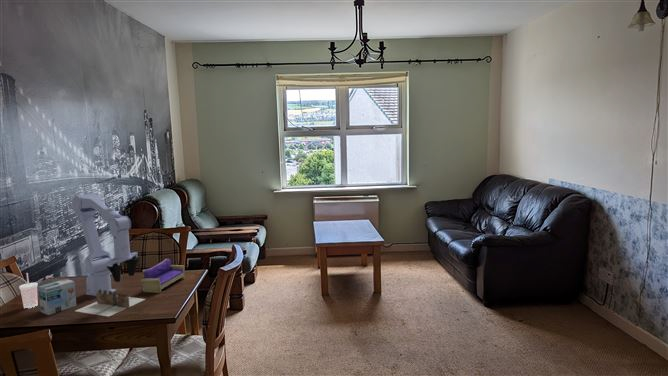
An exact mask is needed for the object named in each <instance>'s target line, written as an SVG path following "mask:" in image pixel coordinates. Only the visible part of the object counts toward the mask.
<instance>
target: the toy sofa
mask: <svg viewBox="0 0 668 376" xmlns="http://www.w3.org/2000/svg"><path fill="white" fill-rule="evenodd" d="M185 267H186V266H185V265H181V264H180V265H179V264H177V265H176V264H172V260H171V259H170V258H165V259H163V261H161V262H159V263H158V264H155V265H154V266H152V267H150V268H148V269H142V272H141V273H142V276H143V278H141V279H140V282H141V284H142V289H143V290H142V291H143V293H156V294H157V293H158V294H160V293H162V290H163V289H165V288H166V287H168V286H170V285H171V284H173V283H175V282H176V281H178V280H185V278H186V277H185Z"/></svg>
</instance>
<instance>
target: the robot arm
mask: <svg viewBox="0 0 668 376" xmlns="http://www.w3.org/2000/svg"><path fill="white" fill-rule="evenodd" d="M71 205H72V208H73V212H74V214H75V216H77V217H79V221H80V226H81V228H82V231H83V236H84V239H85V242H86V246H87V248H88V251H89V253H88V254H87V256H86V257H85V258H84V267H85V272H86V273H87V276H86V280H85V284H86V292H85V295H86V296H87V295H88V296H93V297H96V293H98V290H101V291H102V293H103V291H104V290H106V291H107V294H109V293H108V291H112V293H115V291H117V289H114V288H112V281H111V280H112V279H111V275H112V278H113V280H114V282H115V283H120V282H121V270H122V266H123V265H120V263H121V264H122V263H123V262H125V264H126V268H127V273H128V276H131V277H134V276H135V271H136V268H137V264H138V262H139V260H140V258H139V256H138V255H139V254H138V253H139V252H138V251H134V252H131V249H130V248H131V246H130V234H129V230H130V229H131V227H132V220H131V219H130V218H129V216H128V215H121V214H120V213H119V212H118V211H116V210H115V209H114V208H113V207H109V206H107V205H106V204H105V203H104V202H103V200H102V196H101V195H100V194H99V193H98V192H93V193H88V194H86V193H85V194H75V195H74V196H73V198H72V200H71ZM96 213H99V214H100V218H101V219H102V220H103V221H104V222H105V223H106V224H107V225H108V228H109V230H110V233H111V236H112V237H113V238H112V240H113V248H114V257H112V256H111V253H110V252H109V251H107V250H104V249H103V247H102V243H101V240H100V235H99V234H98V230H97V226H96V224H95V220H94V214H96Z"/></svg>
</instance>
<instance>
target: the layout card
mask: <svg viewBox="0 0 668 376" xmlns="http://www.w3.org/2000/svg"><path fill="white" fill-rule="evenodd" d="M128 297H129V307H128V308H130V307H133V306H135V305H137V304H139V303H141V302H143V301H145V300H146V298H139V297H133V296H132V297H131V296H128ZM126 309H127V308H125V307H118V306H117V305H108V304H101V303H97V301H95V302H93V303H91V304H88V305H86V306H83V307H81V308H78V309H76V310H75V312H77V313H83V314H90V315H97V316H103V317H111V316H113V315H116V314H118V313H120V312H122V311H125V310H126Z"/></svg>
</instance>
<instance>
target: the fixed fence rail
mask: <svg viewBox="0 0 668 376" xmlns="http://www.w3.org/2000/svg"><path fill="white" fill-rule="evenodd" d="M116 294H117V297H116V300H117V306H118V307H125V308H126V309H128V308H130V307H129V297H130V296H128V293H124V292H122V293H121V292H118V293H117V292H116Z"/></svg>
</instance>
